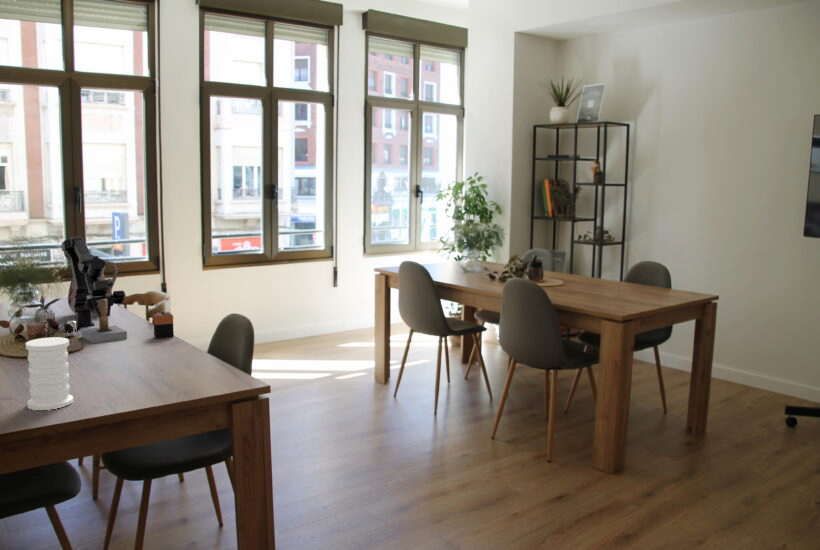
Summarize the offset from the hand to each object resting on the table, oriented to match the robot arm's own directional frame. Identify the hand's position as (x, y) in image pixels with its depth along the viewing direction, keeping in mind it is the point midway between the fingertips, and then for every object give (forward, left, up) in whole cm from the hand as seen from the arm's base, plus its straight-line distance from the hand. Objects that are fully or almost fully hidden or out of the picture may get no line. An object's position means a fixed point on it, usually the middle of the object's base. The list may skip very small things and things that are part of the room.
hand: (104, 316), depth 276 cm
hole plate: (-1, 0, -9) cm, 9 cm away
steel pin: (-11, -9, -9) cm, 17 cm away
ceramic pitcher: (-48, +11, -9) cm, 50 cm away
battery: (+11, +19, -9) cm, 24 cm away
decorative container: (+71, -38, -9) cm, 81 cm away
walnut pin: (-1, 0, -7) cm, 7 cm away
